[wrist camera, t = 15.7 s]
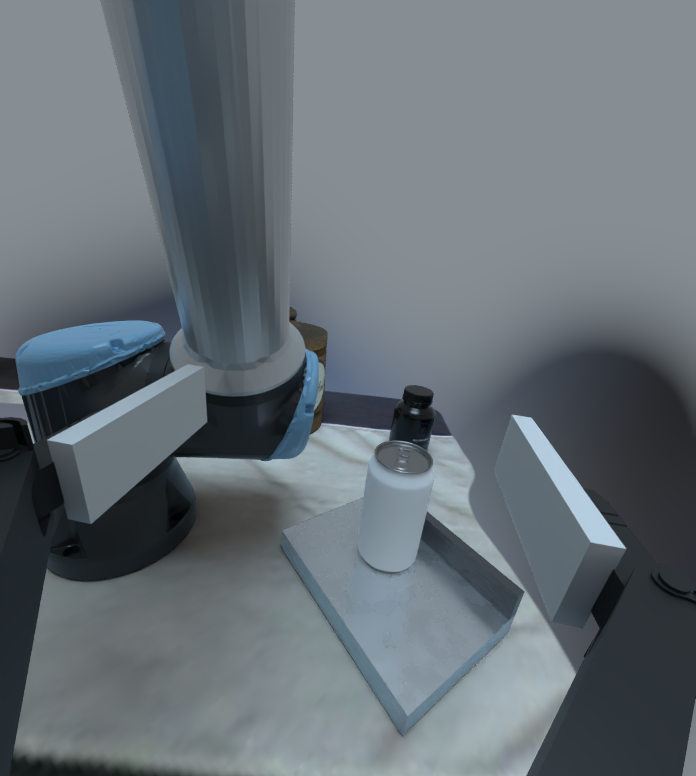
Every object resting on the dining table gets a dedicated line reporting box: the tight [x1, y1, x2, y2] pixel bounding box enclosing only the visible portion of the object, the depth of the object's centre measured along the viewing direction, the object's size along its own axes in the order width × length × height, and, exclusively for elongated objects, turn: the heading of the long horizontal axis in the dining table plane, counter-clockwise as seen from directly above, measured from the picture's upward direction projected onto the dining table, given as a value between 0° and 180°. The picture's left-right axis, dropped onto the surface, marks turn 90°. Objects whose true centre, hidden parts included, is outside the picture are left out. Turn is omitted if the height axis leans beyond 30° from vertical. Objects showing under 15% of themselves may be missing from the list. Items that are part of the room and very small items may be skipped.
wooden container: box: [289, 307, 327, 434], centre depth 65 cm, size 15×15×22 cm
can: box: [357, 441, 434, 572], centre depth 36 cm, size 6×6×12 cm
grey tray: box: [281, 497, 524, 736], centre depth 36 cm, size 20×14×6 cm
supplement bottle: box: [389, 385, 435, 451], centre depth 60 cm, size 7×7×12 cm
